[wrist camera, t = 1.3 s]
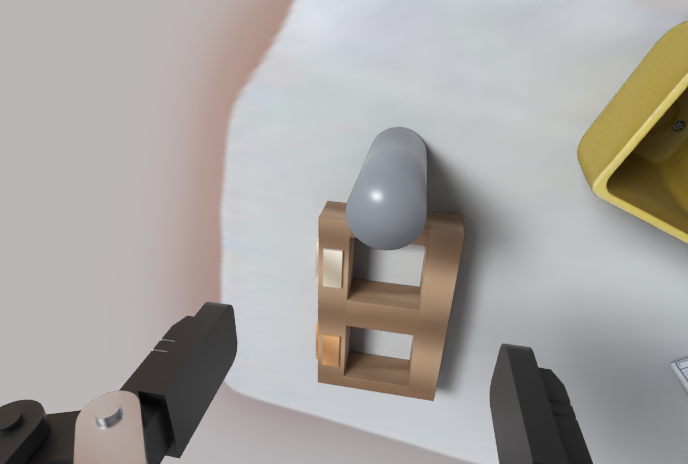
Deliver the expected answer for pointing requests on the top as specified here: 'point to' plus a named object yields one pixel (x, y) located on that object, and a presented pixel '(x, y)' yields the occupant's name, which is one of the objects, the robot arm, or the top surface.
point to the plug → (390, 191)
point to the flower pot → (645, 140)
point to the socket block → (384, 308)
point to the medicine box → (681, 372)
